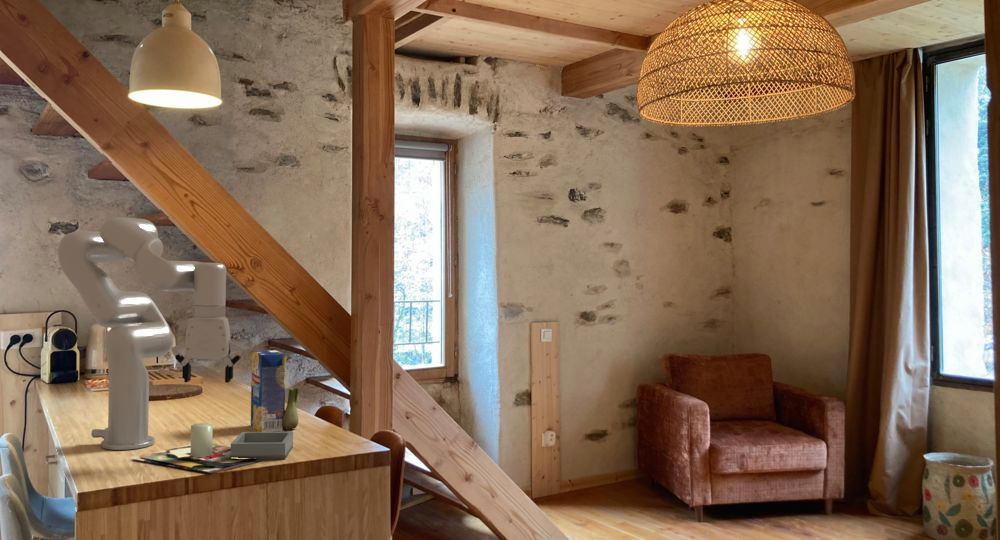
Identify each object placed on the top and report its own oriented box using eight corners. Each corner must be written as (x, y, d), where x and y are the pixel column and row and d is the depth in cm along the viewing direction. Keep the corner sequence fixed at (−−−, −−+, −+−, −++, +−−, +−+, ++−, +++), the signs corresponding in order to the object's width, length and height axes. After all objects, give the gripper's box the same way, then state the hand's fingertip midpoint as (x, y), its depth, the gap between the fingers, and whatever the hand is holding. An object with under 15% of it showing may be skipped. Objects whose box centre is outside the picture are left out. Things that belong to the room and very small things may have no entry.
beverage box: (273, 423, 234) (275, 350, 234) (284, 430, 224) (285, 354, 224) (250, 425, 230) (251, 351, 230) (260, 433, 221) (261, 355, 221)
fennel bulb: (290, 426, 230) (295, 385, 230) (302, 429, 227) (307, 388, 228) (275, 427, 225) (281, 386, 225) (287, 430, 222) (293, 388, 223)
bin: (230, 460, 191) (230, 443, 191) (241, 447, 204) (242, 432, 204) (285, 459, 192) (285, 443, 192) (292, 447, 205) (293, 431, 205)
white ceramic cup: (187, 460, 190) (188, 427, 190) (193, 455, 195) (194, 423, 194) (209, 460, 190) (209, 427, 190) (214, 455, 195) (214, 423, 195)
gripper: (168, 313, 188) (166, 383, 188) (242, 314, 190) (240, 384, 190) (177, 310, 196) (175, 379, 196) (248, 312, 198) (246, 379, 198)
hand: (207, 381), depth 193 cm, fingers open, 9 cm apart
